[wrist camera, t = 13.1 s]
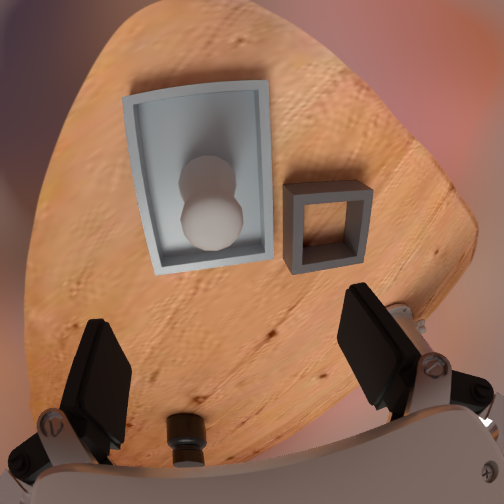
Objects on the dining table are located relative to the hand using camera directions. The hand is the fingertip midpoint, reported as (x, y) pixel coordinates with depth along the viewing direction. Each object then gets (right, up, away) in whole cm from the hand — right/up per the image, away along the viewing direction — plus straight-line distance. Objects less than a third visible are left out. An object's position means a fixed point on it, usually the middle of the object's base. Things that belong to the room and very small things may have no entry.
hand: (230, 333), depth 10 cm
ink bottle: (-15, -36, +44) cm, 59 cm away
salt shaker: (-4, +11, +19) cm, 22 cm away
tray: (-5, +11, +19) cm, 23 cm away
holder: (+9, +7, +25) cm, 27 cm away
